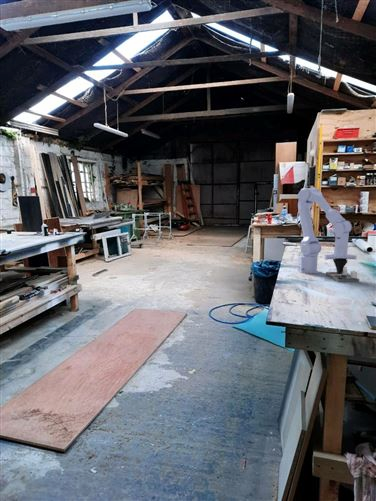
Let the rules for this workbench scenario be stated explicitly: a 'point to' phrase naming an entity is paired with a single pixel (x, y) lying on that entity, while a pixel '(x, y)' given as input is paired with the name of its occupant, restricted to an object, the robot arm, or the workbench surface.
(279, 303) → the workbench surface
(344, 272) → the breaker mid
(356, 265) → the workbench surface
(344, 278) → the panel
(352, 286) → the workbench surface
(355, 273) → the breaker near
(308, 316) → the workbench surface
